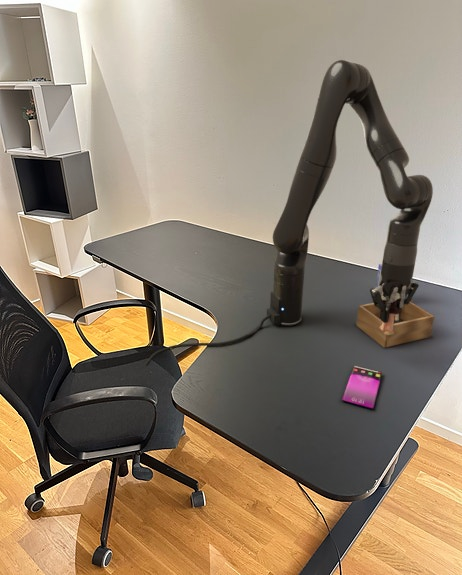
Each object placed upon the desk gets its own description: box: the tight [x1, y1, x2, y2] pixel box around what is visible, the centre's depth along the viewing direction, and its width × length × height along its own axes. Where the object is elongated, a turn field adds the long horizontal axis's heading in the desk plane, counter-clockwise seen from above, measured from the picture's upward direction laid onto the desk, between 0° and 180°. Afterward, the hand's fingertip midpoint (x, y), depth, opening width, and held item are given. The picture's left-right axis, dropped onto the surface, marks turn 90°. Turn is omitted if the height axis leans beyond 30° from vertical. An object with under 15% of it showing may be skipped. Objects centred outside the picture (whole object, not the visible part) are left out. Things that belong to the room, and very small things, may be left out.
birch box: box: [355, 301, 435, 348], centre depth 133 cm, size 17×14×7 cm
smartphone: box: [341, 365, 383, 410], centre depth 109 cm, size 7×15×1 cm, turn 155°
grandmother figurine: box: [380, 293, 401, 335], centre depth 114 cm, size 8×4×13 cm, turn 15°
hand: (389, 320), depth 115 cm, fingers closed on grandmother figurine, 3 cm apart
